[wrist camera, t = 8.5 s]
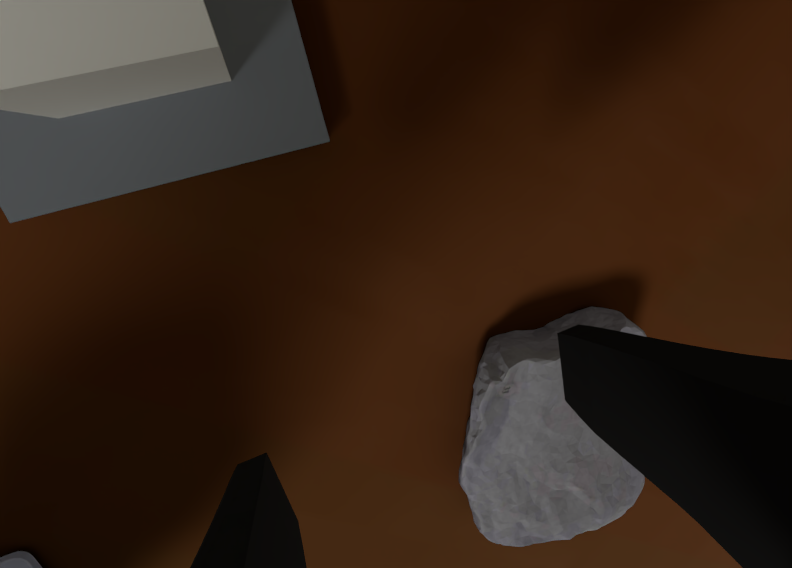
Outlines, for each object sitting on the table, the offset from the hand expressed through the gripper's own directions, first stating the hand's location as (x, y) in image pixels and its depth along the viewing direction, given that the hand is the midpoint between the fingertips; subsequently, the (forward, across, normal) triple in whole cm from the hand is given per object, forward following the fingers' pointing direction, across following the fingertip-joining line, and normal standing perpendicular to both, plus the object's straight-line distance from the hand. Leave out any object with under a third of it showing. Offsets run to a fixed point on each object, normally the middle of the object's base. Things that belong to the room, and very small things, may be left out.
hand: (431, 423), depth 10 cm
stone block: (+10, -8, +10) cm, 16 cm away
